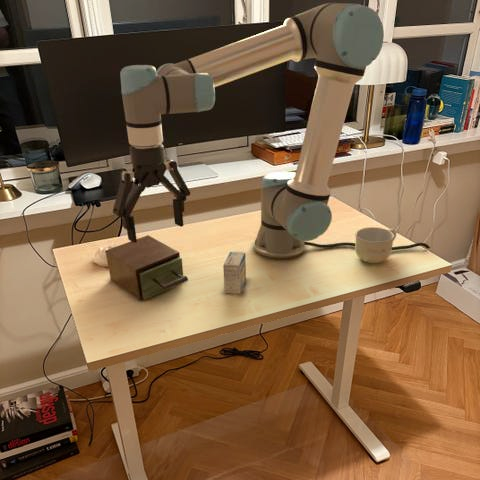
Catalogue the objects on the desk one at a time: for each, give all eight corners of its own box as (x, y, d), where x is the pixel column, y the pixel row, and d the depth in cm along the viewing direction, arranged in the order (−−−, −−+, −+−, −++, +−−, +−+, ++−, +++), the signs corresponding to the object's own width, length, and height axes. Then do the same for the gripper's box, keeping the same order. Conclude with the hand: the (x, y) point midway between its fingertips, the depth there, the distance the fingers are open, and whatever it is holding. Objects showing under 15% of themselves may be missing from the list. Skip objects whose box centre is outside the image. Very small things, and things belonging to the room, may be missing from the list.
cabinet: (182, 282, 135) (179, 252, 130) (140, 301, 128) (135, 269, 122) (151, 263, 144) (148, 235, 139) (110, 280, 137) (105, 250, 131)
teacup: (365, 269, 140) (369, 244, 135) (345, 253, 148) (348, 229, 143) (406, 261, 144) (411, 236, 139) (384, 245, 152) (388, 221, 147)
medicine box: (240, 294, 129) (240, 266, 124) (224, 293, 130) (223, 264, 125) (246, 280, 136) (245, 252, 131) (230, 278, 137) (229, 250, 132)
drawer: (197, 290, 130) (195, 266, 125) (158, 308, 123) (155, 283, 118) (155, 265, 141) (152, 241, 137) (117, 280, 135) (113, 256, 130)
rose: (102, 237, 149) (130, 241, 147) (104, 250, 152) (133, 254, 149) (84, 252, 141) (115, 256, 139) (87, 265, 144) (117, 269, 141)
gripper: (182, 131, 117) (188, 214, 129) (86, 151, 104) (103, 242, 116) (201, 137, 113) (205, 223, 125) (104, 159, 99) (119, 253, 111)
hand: (156, 232), depth 120 cm, fingers open, 13 cm apart
